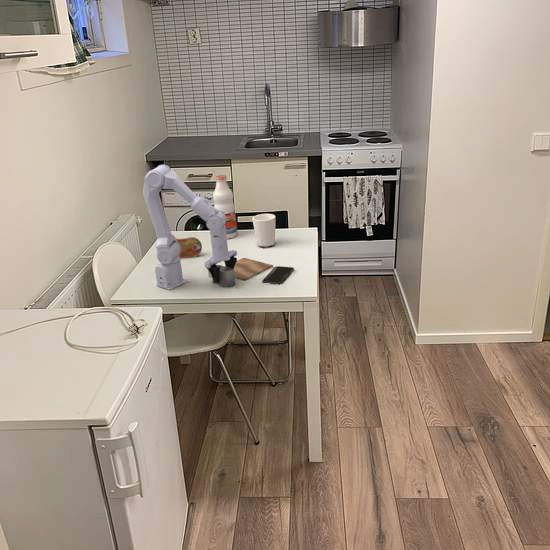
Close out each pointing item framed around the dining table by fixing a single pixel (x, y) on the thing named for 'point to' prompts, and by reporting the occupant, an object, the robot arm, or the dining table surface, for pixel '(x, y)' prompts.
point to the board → (249, 268)
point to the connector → (225, 277)
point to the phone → (278, 275)
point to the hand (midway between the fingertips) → (223, 279)
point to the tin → (189, 247)
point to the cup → (264, 229)
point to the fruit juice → (225, 205)
